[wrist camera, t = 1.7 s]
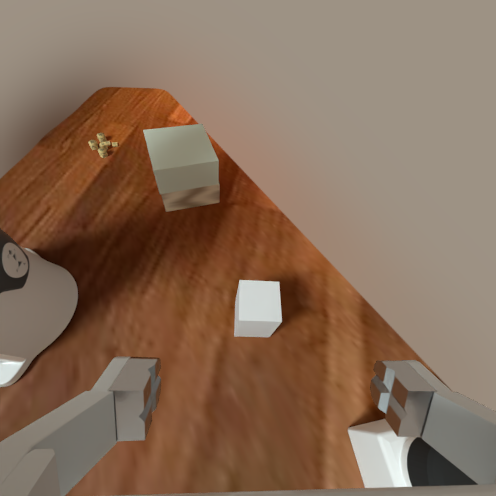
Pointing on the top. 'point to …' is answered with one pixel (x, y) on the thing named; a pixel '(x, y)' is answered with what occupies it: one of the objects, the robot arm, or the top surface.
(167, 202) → the birch block
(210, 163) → the sage block
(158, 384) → the robot arm
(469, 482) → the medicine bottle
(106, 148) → the beige lumpy cluster
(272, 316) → the grey block
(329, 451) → the top surface
